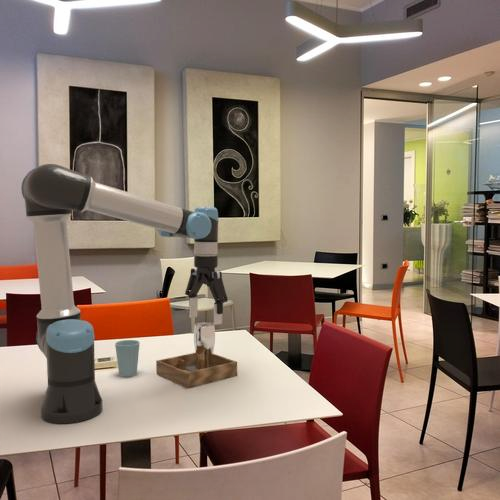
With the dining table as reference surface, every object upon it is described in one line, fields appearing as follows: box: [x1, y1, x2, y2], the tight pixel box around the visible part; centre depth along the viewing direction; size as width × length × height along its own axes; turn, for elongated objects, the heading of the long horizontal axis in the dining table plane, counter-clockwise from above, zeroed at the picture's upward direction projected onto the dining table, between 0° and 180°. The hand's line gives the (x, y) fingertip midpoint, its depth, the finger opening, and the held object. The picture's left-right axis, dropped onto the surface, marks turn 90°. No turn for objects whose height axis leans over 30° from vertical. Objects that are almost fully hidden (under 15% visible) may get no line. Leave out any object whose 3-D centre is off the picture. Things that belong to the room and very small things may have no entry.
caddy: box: [155, 352, 238, 389], centre depth 166 cm, size 19×18×4 cm
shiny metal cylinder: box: [193, 322, 216, 371], centre depth 169 cm, size 7×7×15 cm
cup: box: [114, 339, 141, 378], centre depth 166 cm, size 8×8×10 cm
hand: (205, 320), depth 167 cm, fingers open, 13 cm apart
